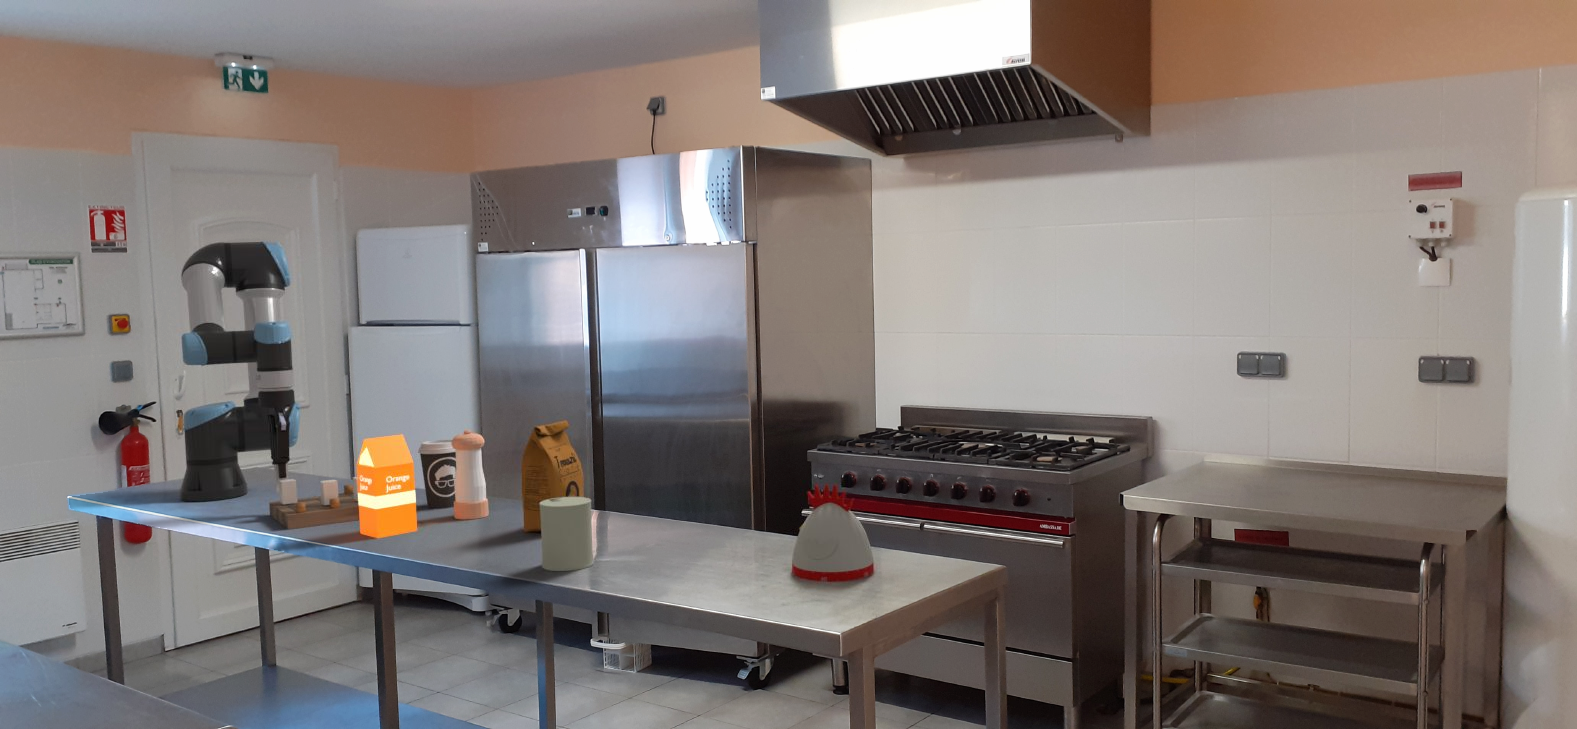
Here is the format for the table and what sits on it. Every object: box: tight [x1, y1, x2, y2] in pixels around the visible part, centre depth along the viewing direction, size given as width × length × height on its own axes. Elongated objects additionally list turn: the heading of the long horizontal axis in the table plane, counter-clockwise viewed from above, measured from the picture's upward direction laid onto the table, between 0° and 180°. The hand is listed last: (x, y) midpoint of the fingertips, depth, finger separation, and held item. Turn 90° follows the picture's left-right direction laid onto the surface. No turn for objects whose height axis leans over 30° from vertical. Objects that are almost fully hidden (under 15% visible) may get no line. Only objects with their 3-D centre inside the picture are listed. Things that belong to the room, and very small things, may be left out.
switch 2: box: [319, 479, 339, 505], centre depth 250 cm, size 3×3×5 cm
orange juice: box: [356, 433, 418, 539], centre depth 234 cm, size 8×9×20 cm
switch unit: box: [268, 484, 360, 530], centre depth 254 cm, size 20×20×5 cm
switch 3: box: [352, 476, 358, 501], centre depth 254 cm, size 3×3×5 cm
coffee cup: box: [417, 439, 456, 510], centre depth 261 cm, size 10×10×15 cm
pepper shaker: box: [451, 429, 490, 520], centre depth 248 cm, size 7×7×19 cm
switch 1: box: [279, 478, 298, 504], centre depth 253 cm, size 3×3×5 cm
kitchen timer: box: [791, 483, 875, 583], centre depth 191 cm, size 14×14×15 cm
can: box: [539, 496, 595, 572], centre depth 201 cm, size 9×9×12 cm
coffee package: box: [521, 419, 585, 533], centre depth 233 cm, size 10×12×22 cm
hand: (282, 491), depth 258 cm, fingers closed
